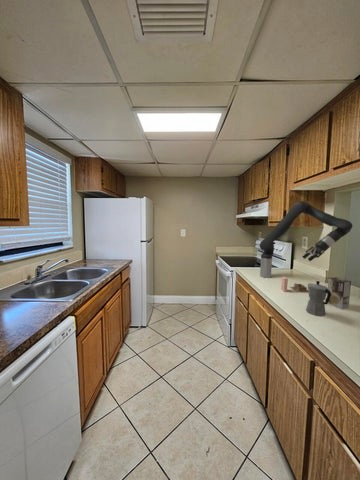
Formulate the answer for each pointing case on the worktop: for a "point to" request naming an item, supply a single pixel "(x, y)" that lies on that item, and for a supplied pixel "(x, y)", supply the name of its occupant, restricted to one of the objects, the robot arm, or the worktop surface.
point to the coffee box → (339, 292)
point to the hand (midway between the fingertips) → (306, 259)
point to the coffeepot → (317, 299)
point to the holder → (299, 288)
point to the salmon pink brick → (284, 284)
